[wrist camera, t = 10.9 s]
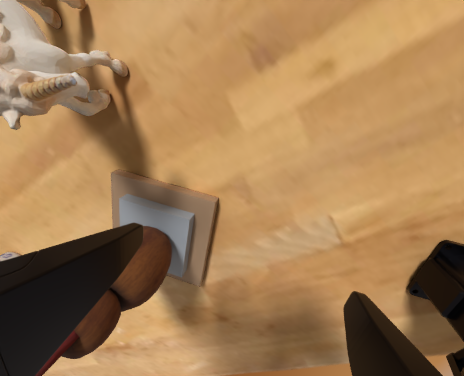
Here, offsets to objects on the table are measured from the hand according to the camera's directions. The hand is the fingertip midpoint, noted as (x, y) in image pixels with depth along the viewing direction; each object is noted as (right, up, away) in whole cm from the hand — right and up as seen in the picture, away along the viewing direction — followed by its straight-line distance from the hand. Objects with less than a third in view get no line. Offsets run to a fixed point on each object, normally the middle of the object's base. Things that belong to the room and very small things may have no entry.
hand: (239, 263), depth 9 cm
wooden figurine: (-9, -3, +15) cm, 18 cm away
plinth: (-9, -2, +17) cm, 19 cm away
